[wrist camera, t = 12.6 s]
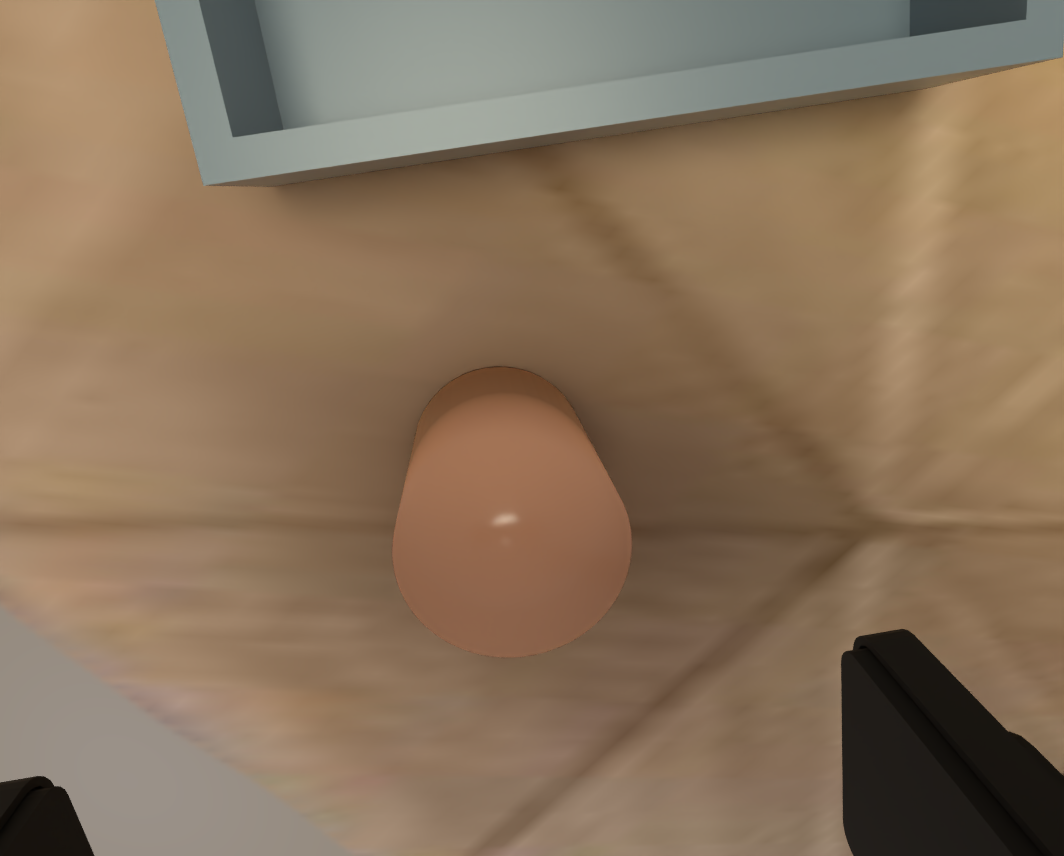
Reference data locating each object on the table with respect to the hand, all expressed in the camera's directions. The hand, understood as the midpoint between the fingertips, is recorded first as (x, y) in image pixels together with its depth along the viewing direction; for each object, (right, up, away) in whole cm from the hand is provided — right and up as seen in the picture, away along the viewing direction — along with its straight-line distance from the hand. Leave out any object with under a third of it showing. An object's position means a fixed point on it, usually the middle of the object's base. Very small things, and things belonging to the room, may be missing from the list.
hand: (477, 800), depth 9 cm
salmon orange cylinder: (0, +4, +13) cm, 14 cm away
